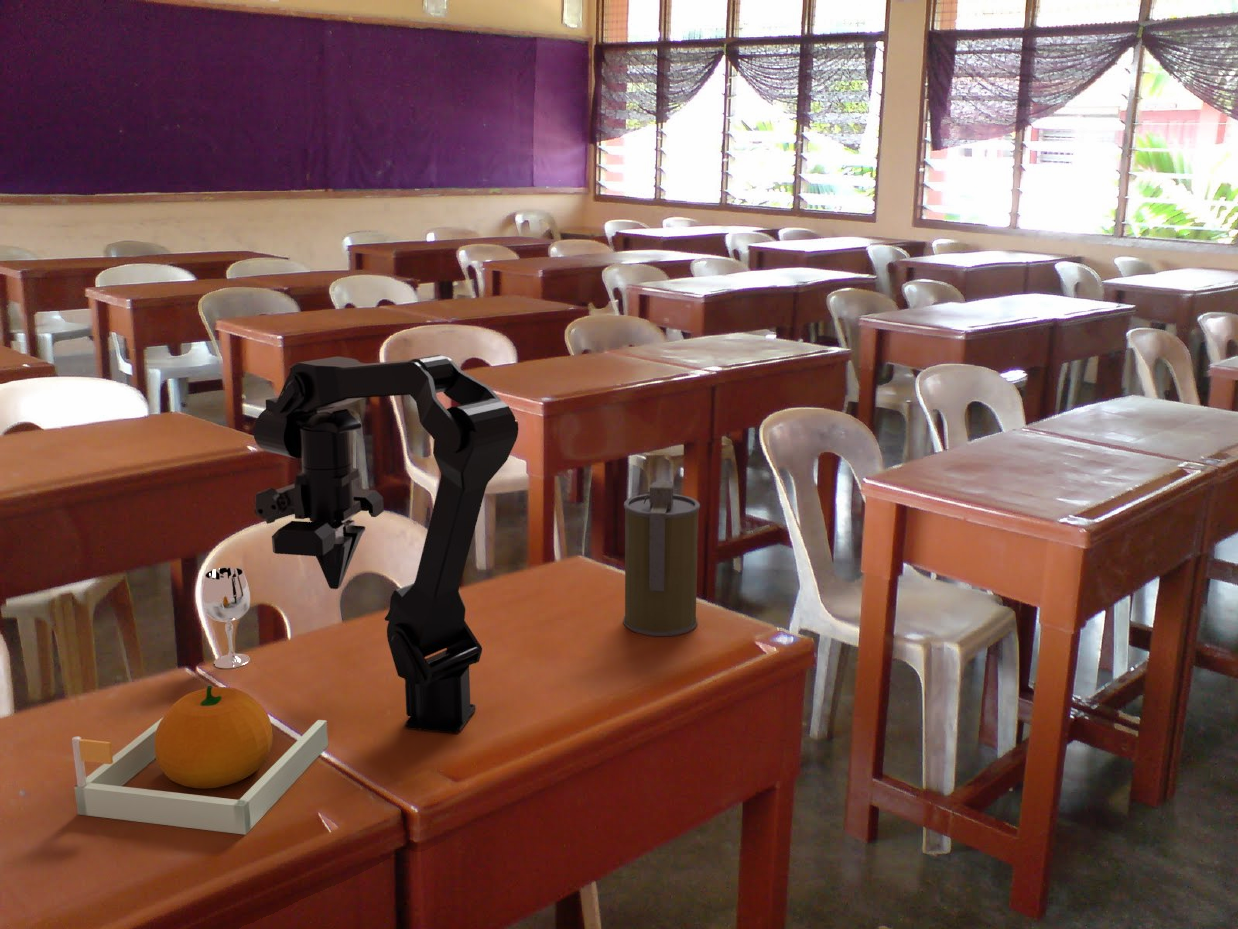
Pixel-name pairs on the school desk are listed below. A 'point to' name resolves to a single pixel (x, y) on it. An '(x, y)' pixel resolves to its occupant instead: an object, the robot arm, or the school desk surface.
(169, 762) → the fruit
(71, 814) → the school desk surface
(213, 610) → the wineglass
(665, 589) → the canister
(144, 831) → the school desk surface
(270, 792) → the corral
